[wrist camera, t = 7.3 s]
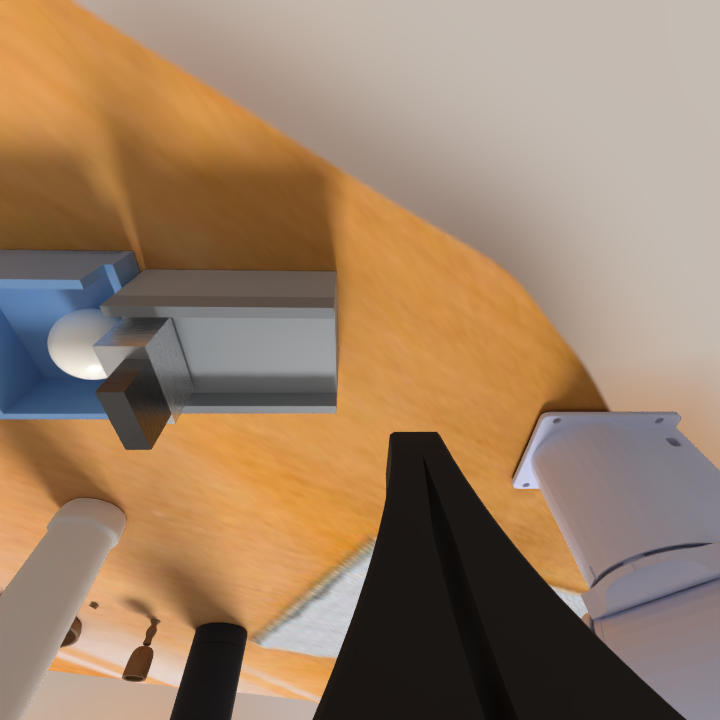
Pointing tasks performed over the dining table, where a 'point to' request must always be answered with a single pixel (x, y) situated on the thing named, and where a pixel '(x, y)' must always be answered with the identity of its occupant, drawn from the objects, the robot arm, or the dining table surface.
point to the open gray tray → (246, 335)
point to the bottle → (51, 596)
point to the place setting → (139, 658)
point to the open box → (36, 318)
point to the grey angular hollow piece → (142, 379)
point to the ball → (79, 342)
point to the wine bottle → (211, 673)
